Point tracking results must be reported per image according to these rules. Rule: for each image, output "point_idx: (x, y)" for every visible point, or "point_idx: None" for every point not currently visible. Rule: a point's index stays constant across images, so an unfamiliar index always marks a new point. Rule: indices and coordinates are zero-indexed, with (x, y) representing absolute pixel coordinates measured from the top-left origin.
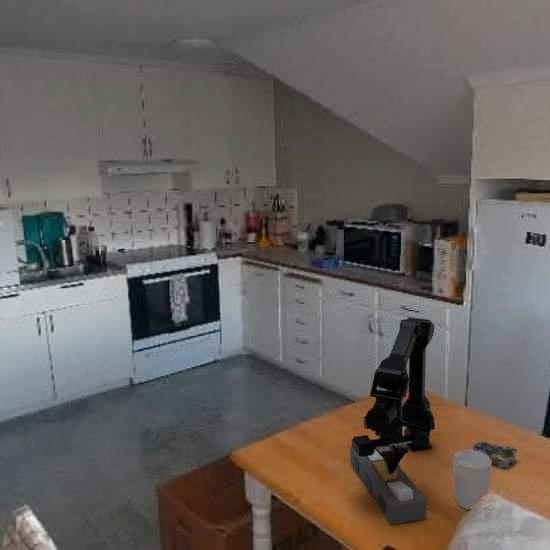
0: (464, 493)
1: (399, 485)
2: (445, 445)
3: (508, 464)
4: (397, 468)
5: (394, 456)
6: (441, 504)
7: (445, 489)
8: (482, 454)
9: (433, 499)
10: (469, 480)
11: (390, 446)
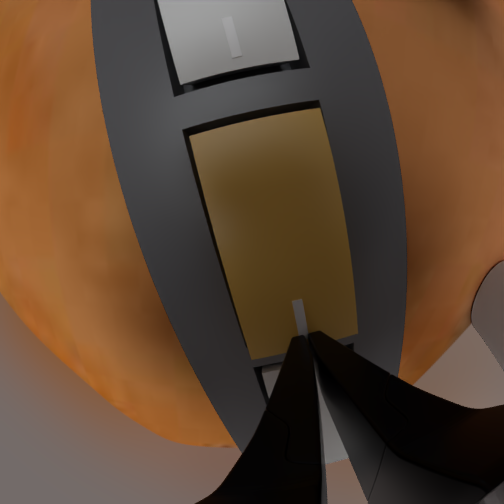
0: (496, 358)
1: (322, 411)
2: (496, 5)
3: None
4: (382, 200)
5: (372, 491)
6: (438, 311)
7: (481, 229)
8: None
9: (432, 287)
10: None
11: (426, 496)
